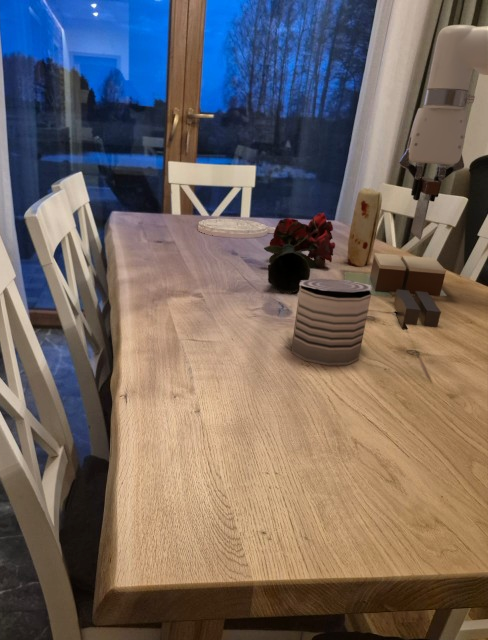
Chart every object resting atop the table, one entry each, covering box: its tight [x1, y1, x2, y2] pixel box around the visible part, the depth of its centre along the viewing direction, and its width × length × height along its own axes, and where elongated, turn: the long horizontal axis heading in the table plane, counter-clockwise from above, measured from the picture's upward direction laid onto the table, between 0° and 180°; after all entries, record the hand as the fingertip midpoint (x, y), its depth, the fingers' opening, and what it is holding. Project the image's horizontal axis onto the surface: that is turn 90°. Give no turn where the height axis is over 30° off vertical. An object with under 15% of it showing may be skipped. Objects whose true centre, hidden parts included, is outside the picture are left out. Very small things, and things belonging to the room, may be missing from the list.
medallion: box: [197, 218, 276, 239], centre depth 194 cm, size 24×27×2 cm
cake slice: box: [369, 252, 406, 294], centre depth 134 cm, size 6×13×6 cm, turn 169°
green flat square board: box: [343, 271, 448, 298], centre depth 135 cm, size 22×20×1 cm
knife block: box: [393, 289, 442, 330], centre depth 114 cm, size 14×6×4 cm, turn 169°
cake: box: [400, 255, 447, 297], centre depth 133 cm, size 8×13×6 cm, turn 169°
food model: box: [347, 187, 383, 267], centre depth 151 cm, size 10×7×20 cm
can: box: [291, 278, 373, 367], centre depth 93 cm, size 11×11×12 cm
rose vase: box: [263, 212, 336, 294], centre depth 140 cm, size 16×18×35 cm
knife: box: [410, 176, 441, 241], centre depth 121 cm, size 12×2×11 cm, turn 170°
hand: (423, 199), depth 120 cm, fingers closed on knife, 2 cm apart
